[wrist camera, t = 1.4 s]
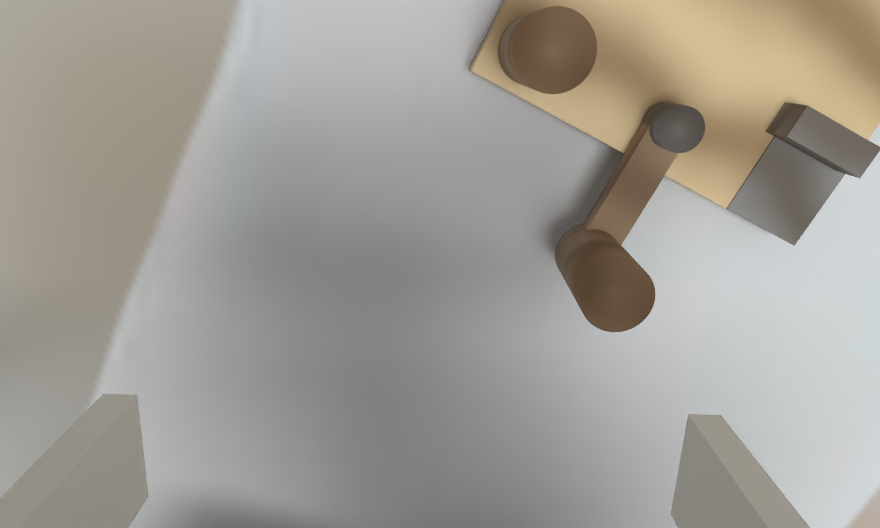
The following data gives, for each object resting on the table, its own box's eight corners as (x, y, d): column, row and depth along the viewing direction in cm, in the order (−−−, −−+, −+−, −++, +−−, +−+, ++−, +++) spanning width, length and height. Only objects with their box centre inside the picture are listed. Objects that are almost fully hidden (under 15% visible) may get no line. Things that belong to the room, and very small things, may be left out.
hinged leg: (596, 292, 33) (629, 343, 27) (543, 266, 32) (566, 312, 27) (704, 119, 30) (766, 135, 24) (649, 88, 30) (699, 97, 24)
